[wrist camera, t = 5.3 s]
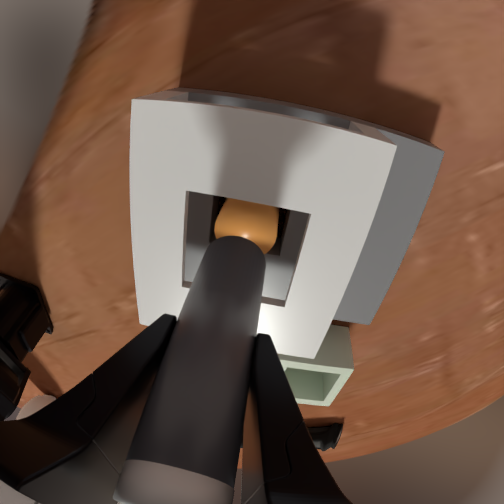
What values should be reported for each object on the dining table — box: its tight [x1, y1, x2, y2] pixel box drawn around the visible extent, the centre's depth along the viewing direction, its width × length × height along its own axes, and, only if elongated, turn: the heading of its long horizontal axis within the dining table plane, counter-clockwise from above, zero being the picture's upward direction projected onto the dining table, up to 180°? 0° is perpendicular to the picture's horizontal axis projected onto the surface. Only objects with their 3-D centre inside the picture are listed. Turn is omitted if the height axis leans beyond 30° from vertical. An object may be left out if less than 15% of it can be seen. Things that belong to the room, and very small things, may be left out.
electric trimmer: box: [240, 423, 343, 451], centre depth 33 cm, size 4×16×3 cm, turn 98°
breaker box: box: [130, 87, 444, 359], centre depth 16 cm, size 14×12×6 cm
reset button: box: [214, 198, 279, 254], centre depth 16 cm, size 3×3×3 cm
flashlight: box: [113, 236, 266, 504], centre depth 9 cm, size 3×3×10 cm
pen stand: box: [277, 324, 354, 406], centre depth 23 cm, size 5×5×4 cm
